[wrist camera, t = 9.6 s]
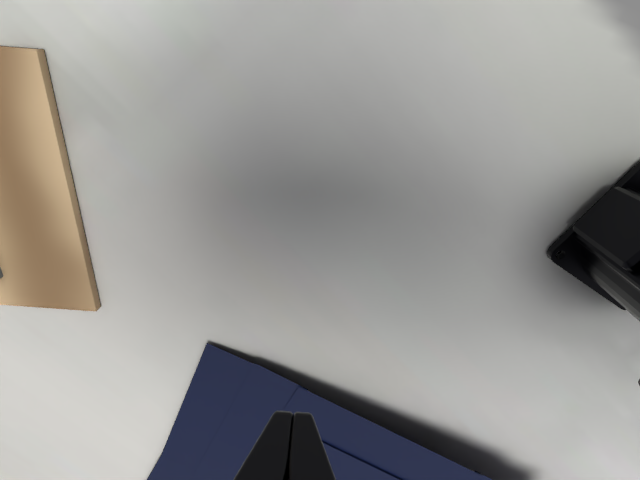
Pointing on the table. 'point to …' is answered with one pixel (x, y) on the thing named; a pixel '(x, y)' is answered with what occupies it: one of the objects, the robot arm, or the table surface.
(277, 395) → the navy blue placemat
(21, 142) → the wooden board
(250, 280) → the table surface
